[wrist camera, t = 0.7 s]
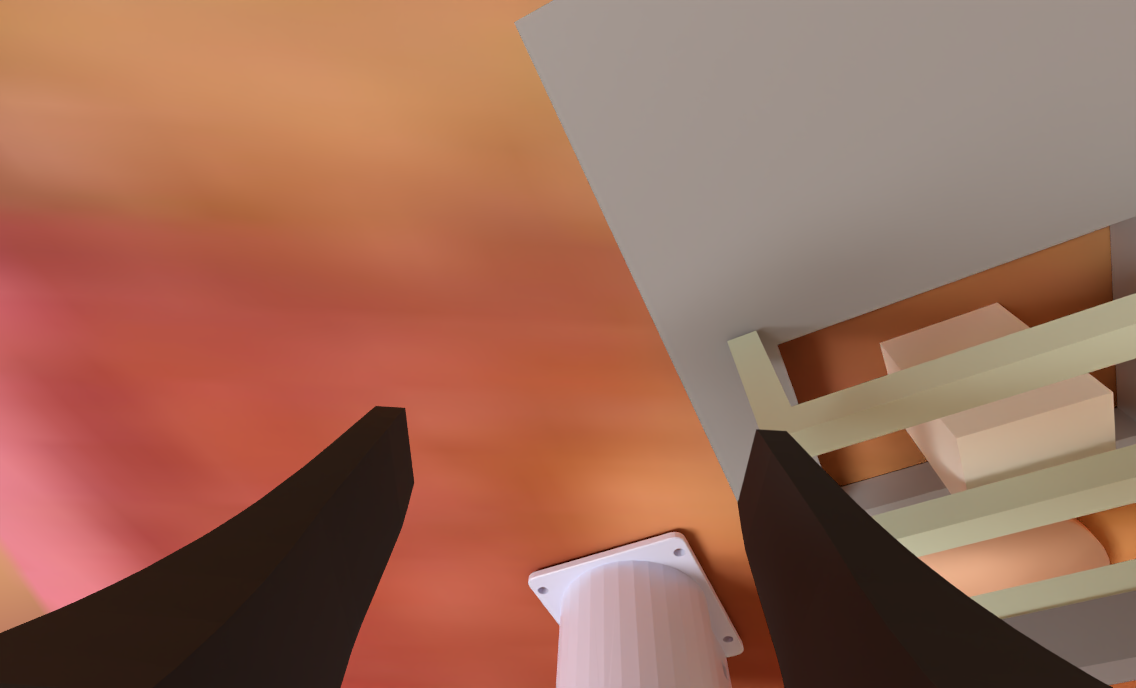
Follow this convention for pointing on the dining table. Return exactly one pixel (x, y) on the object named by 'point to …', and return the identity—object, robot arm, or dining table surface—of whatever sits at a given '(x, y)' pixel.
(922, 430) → the cream block
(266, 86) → the dining table surface
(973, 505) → the cream slatted rack
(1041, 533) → the terracotta dish
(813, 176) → the puzzle board
